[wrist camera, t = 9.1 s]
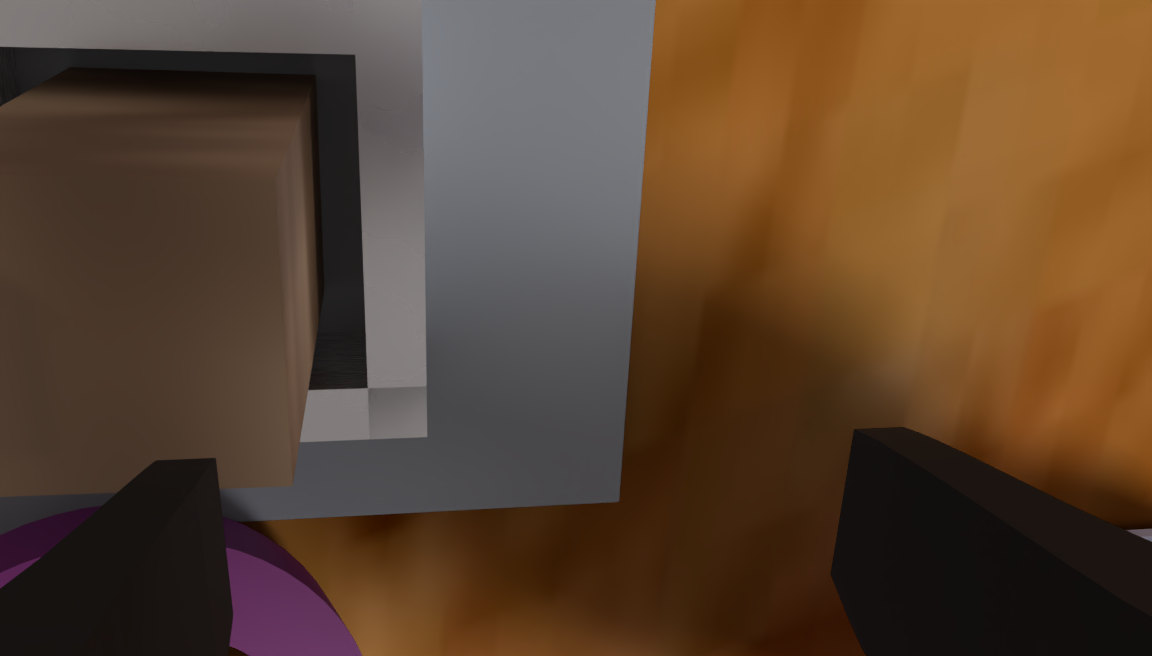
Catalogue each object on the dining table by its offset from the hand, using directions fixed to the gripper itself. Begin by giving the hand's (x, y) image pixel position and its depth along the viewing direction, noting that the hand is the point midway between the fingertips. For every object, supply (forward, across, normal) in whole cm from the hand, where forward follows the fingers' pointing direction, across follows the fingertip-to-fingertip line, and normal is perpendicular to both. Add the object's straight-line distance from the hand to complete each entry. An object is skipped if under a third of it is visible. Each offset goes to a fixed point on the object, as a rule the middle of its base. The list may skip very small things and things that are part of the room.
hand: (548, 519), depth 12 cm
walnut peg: (+9, +5, -2) cm, 10 cm away
